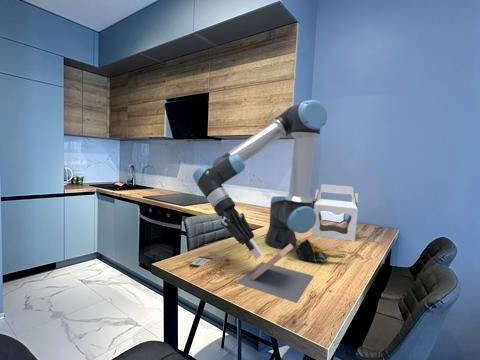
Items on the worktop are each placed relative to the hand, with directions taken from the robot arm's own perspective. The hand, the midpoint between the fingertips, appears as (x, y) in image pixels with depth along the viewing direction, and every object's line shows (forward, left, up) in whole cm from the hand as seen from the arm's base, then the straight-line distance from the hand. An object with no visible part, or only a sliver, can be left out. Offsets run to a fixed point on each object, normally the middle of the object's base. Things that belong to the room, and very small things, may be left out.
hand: (259, 256), depth 88 cm
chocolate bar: (+11, -13, -8) cm, 18 cm away
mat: (-4, +5, -7) cm, 10 cm away
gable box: (-64, -29, -7) cm, 71 cm away
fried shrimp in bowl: (-30, -3, -7) cm, 31 cm away
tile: (0, -1, -6) cm, 6 cm away
